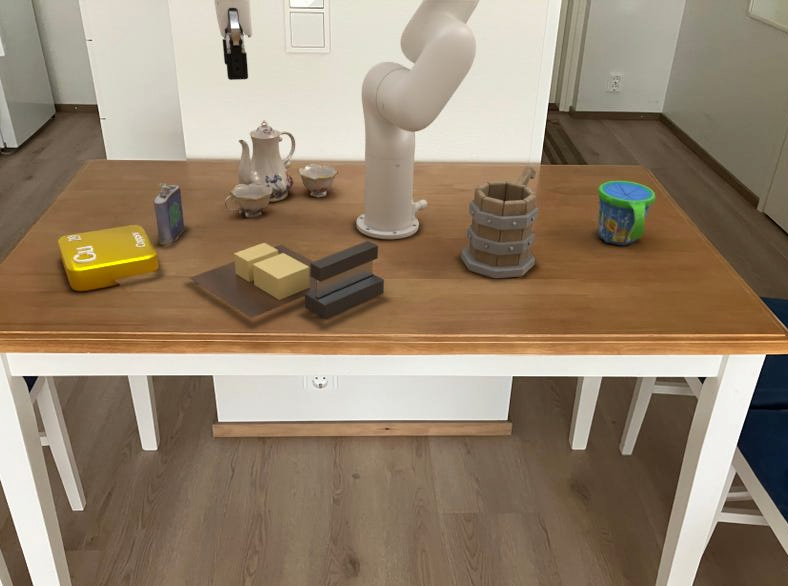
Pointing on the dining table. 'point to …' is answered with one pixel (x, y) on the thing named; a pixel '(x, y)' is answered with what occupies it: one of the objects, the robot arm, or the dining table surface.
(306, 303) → the scraper stand
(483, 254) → the tankard
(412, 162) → the robot arm
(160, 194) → the flask
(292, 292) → the butter
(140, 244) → the element tile
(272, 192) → the chinaware
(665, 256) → the dining table surface
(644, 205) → the snack cup
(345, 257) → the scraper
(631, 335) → the dining table surface
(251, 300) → the cutting board
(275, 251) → the butter slice
